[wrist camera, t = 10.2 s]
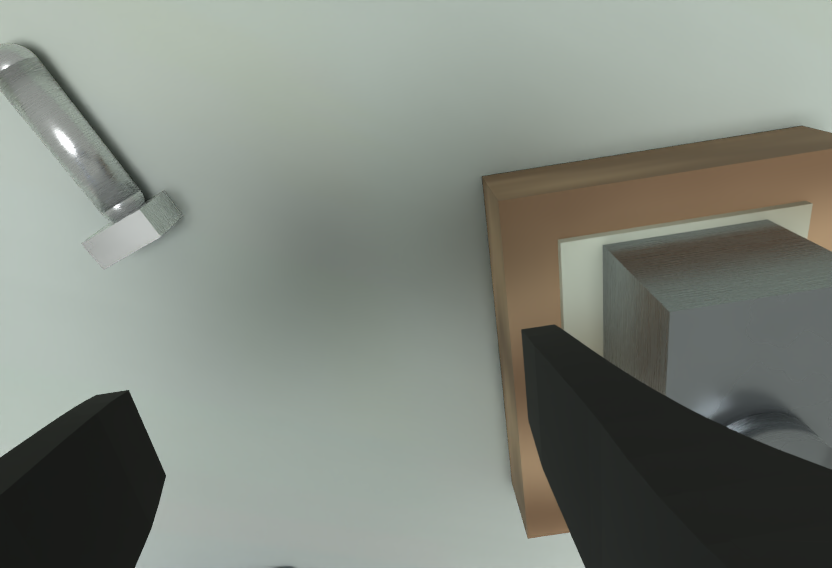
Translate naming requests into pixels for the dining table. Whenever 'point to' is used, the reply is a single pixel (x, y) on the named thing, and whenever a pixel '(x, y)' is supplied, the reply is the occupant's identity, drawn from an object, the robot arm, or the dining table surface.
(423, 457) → the dining table surface
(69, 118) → the loose bolt
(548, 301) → the stand
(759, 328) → the block
